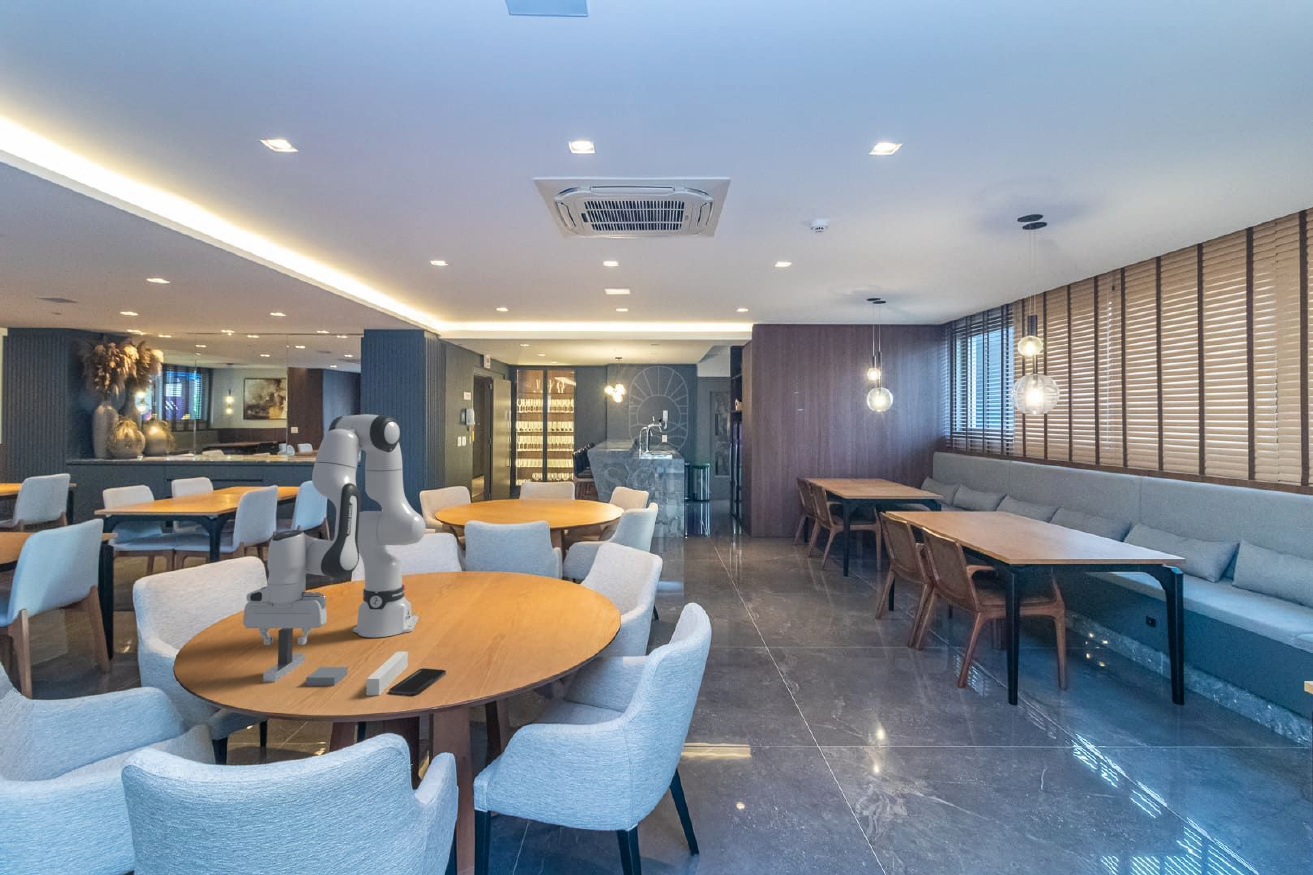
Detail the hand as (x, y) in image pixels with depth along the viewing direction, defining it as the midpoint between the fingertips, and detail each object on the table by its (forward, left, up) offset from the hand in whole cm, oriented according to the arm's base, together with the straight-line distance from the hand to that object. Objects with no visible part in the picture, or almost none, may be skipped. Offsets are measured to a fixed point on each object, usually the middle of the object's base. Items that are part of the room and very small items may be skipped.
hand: (285, 644), depth 160 cm
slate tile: (+6, +14, -8) cm, 17 cm away
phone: (+8, +38, -8) cm, 40 cm away
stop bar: (+6, +29, -7) cm, 31 cm away
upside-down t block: (0, 0, -8) cm, 8 cm away
